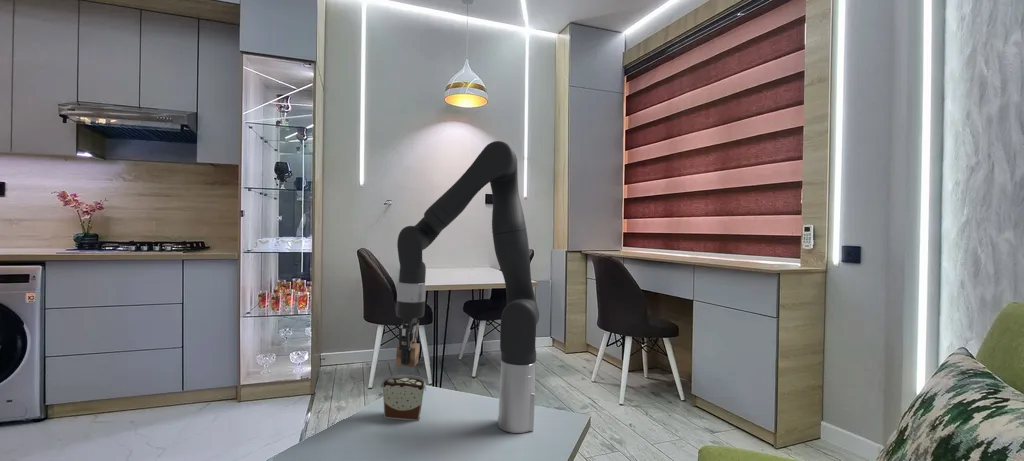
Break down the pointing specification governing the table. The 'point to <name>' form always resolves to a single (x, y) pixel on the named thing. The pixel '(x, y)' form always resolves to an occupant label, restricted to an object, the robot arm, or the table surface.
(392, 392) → the food container
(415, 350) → the walnut cube
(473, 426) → the table surface
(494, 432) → the table surface
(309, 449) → the table surface
